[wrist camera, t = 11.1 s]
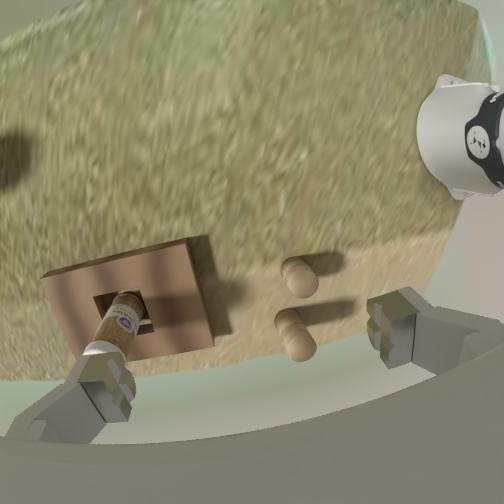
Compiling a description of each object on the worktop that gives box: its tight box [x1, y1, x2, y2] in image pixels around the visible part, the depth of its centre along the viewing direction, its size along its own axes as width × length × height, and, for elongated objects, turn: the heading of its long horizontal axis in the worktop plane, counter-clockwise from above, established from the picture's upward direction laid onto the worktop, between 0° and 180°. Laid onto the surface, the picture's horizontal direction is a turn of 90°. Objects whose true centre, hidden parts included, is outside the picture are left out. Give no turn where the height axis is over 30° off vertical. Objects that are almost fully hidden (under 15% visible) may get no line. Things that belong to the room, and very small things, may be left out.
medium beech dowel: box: [274, 309, 317, 362], centre depth 40 cm, size 3×3×8 cm
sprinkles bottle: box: [83, 293, 144, 368], centre depth 34 cm, size 5×5×13 cm
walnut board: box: [40, 238, 215, 362], centre depth 39 cm, size 20×14×2 cm
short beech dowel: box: [281, 257, 319, 299], centre depth 39 cm, size 3×3×5 cm
